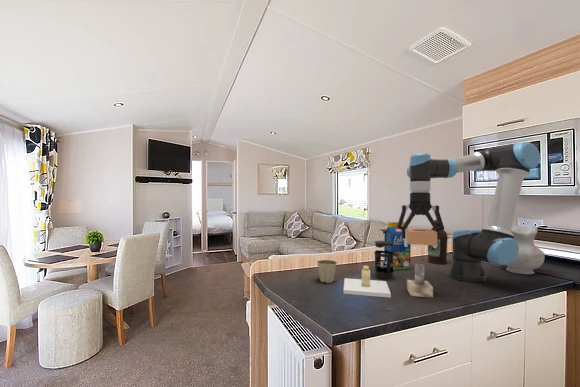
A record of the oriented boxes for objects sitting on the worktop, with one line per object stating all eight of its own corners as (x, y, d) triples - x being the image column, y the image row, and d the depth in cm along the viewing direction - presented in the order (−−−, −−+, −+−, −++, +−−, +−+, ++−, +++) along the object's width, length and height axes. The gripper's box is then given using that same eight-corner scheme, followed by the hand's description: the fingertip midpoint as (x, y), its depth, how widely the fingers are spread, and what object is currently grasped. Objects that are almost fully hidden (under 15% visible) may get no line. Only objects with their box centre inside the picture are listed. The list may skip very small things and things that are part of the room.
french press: (399, 279, 130) (399, 230, 130) (380, 281, 128) (381, 231, 128) (385, 272, 142) (385, 227, 142) (368, 273, 140) (368, 228, 140)
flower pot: (341, 280, 128) (341, 262, 128) (329, 285, 122) (329, 265, 122) (324, 276, 135) (324, 258, 135) (312, 281, 128) (312, 262, 128)
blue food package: (384, 267, 152) (384, 221, 152) (402, 266, 155) (403, 221, 155) (391, 270, 146) (391, 223, 146) (410, 269, 149) (410, 222, 149)
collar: (430, 241, 117) (430, 229, 117) (437, 245, 107) (437, 232, 107) (404, 240, 119) (404, 228, 119) (409, 244, 109) (409, 231, 109)
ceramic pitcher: (530, 281, 133) (536, 229, 131) (485, 268, 149) (489, 222, 148) (548, 275, 144) (554, 227, 142) (504, 264, 160) (508, 221, 159)
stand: (427, 290, 116) (427, 263, 116) (432, 297, 108) (433, 267, 108) (407, 289, 118) (407, 261, 118) (410, 295, 110) (411, 266, 110)
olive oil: (432, 259, 172) (433, 218, 172) (450, 263, 163) (451, 220, 163) (423, 261, 166) (423, 219, 166) (441, 265, 157) (442, 221, 157)
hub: (386, 284, 123) (386, 263, 123) (390, 297, 108) (390, 273, 108) (344, 281, 127) (344, 260, 127) (343, 293, 112) (343, 270, 112)
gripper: (447, 192, 114) (447, 246, 114) (389, 192, 119) (389, 244, 119) (454, 191, 107) (454, 249, 107) (391, 192, 112) (391, 247, 112)
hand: (420, 246), depth 113 cm, fingers closed on collar, 10 cm apart
